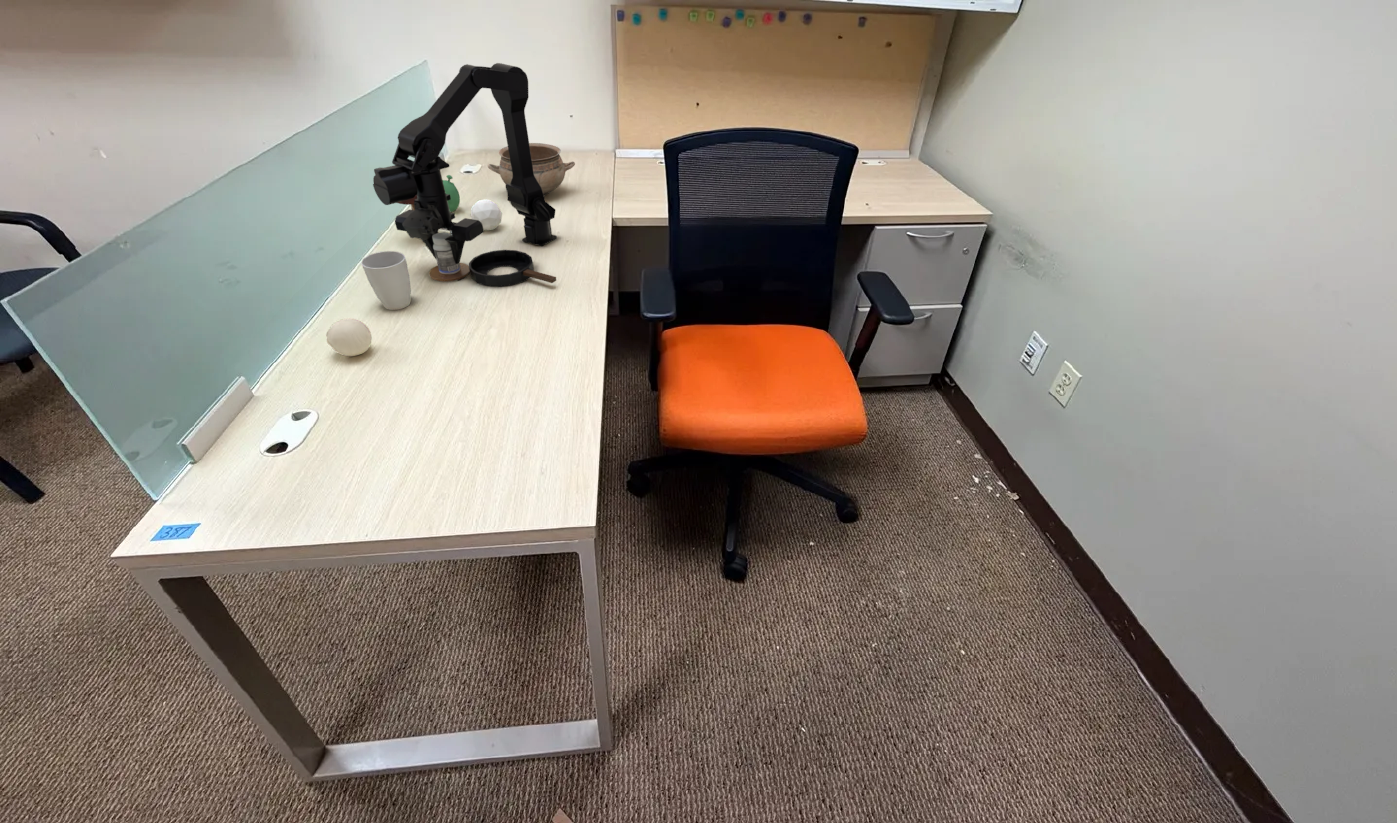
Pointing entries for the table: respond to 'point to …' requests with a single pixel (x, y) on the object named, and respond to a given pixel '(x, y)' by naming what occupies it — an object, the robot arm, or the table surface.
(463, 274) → the disc
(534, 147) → the cooking pot
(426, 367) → the table surface
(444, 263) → the pill bottle
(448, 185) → the alien toy
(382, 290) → the cup
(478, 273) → the pan
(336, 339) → the cream oval shape
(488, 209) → the ball
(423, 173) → the robot arm
